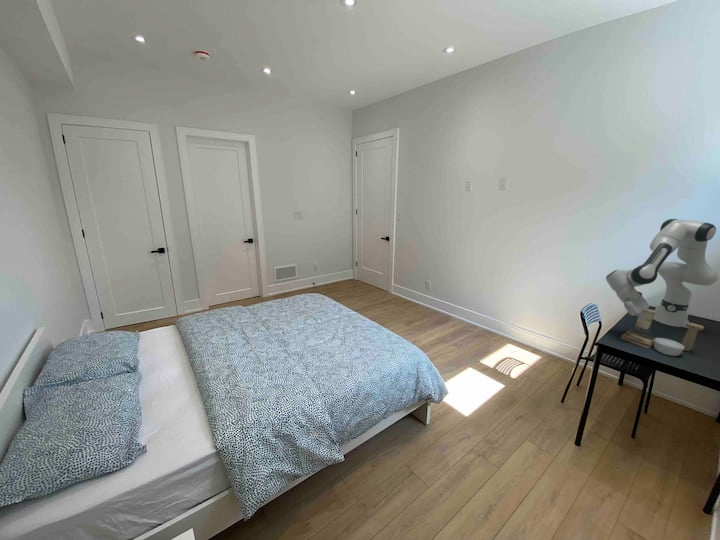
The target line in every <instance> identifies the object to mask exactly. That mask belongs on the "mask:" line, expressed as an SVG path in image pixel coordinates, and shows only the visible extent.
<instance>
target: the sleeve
mask: <svg viewBox="0 0 720 540" xmlns="http://www.w3.org/2000/svg"><path fill="white" fill-rule="evenodd" d="M642 311H643V312H641V313H642V315H643V316H644V317H646V319H647V320H646V321H642V320H641V319H640V318H639V317H638V316H637V320H636V323H635V325H634V330H635V331H638V332H639V331H640V332H642V333H645V334H646V333H648V332H649V331H650V329H651V326H652V323H653V320H654V319H653V318H654V315H655V312H656V311H655V310H654V309H650V308H647V309H646V308H645V309H643V310H642Z"/></svg>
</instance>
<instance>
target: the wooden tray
mask: <svg viewBox="0 0 720 540" xmlns="http://www.w3.org/2000/svg"><path fill="white" fill-rule="evenodd" d="M620 339H621V340H623V341H626V342H629V343H631V344H634V345H636V346H640V347H642V348H646V349H650V348H651V347H652V346H654V339H655V338H654V337H651V336H649V335H645V334H642V333H641V332H640V333H639V332H636V331H634V330H628V331H626V332H624V334H622V335H620Z"/></svg>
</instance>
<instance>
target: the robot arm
mask: <svg viewBox="0 0 720 540" xmlns="http://www.w3.org/2000/svg"><path fill="white" fill-rule="evenodd" d="M659 230H660V231H659V232H657V234H656V235H655V237H653V239H652V240H651V242H650V244H649V248H650V250H651V254H649V256H648V258H647V259H646V260H645V261H644V263H642V264H641V265H638V266H637V267H635V268H634V269H628V270H627V269H626V270H622V269H621V270H620V269H616V270H613V271H612V272H610V273H609V274H608V275H606V277H605V279H606V282H607V283H608V285H609V286H610V289H612V290H613V291H614V292H615V294H616V296H617V298H619V300H620V301H621V303H622V304H623V306H624V309H625V310H626V311H627V313H628V314H629V315H630V316H632V317H635V316H637V318H638V317H639V318H640V319H641V320H642V321H646V320H647V319H646V317H644V316H643V315H642V313H641V312H643V311H642V310H643V309H645V308H646V309H650V304H649V303H648V301H647V300H646V299H645V297H644V296H643V293H642V292H641V291H638V290H637V289H636V288H635V287H640V286H645V285H648V284H653V283H654V282H655V281H656V279H657V277H658V274H659V276H661V278H662V279H663V280H664V282H665V285H666V289H665V294H664V296H663V299H662V300H661V302H660V305H657V306H656V308H655V310H654V311H656V312H655V315H654V318H653V320H654V321H656V322H658V323H660V324H663V325H667V326H671V327H676V328H686V329H688V327H687V326H686V322H689V319H688V318H689V313H688V309H689V307H690V306H689V303H690V300H691V298H692V297H693V295H692V291H691V290H690V289H688V287H686V286H685V285H684V283H687V284H691V285H697V286H705V287H706V286H707V287H709V286H711V285H714V284H715V283H716V282H717V281H718V278H719V274H718V272H717V271H716V270H715V269H713V268H712V267H711V266H710V265H709V264H708V262H707V260H706V251H707V246H708V241H711V240H712V239H713V237H714V236H715V234H716V232H717V228H716V226H715V224H713V223H709V222H703V221H698V220H691V219H688V220H687V219H677V218H670V219H667V220H665V221H664V222H663V223H661V226H660V229H659ZM676 250H677V252H676V255H677V258H678V259H679V260H680V261H682V262H683V263H682V262H677V261H666V260H667V258H668V257H669V256H670V255H671V254H672V253H674V252H675V251H676Z"/></svg>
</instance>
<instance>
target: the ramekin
mask: <svg viewBox="0 0 720 540" xmlns="http://www.w3.org/2000/svg"><path fill="white" fill-rule="evenodd" d="M653 348H654V350H656V351H657V352H659V353H661V354H664V355H666V356H672V357H677V356H679V355H680V354H682V352H683V351H684V348H685V347H684V346H683V345H682V343H681V342H678V341H676V340H673V339H669V338H666V337H665V338H664V337H656V338H655V339H654V344H653Z"/></svg>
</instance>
